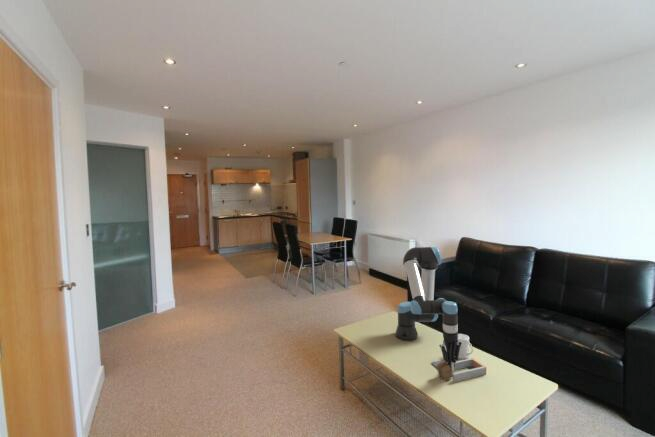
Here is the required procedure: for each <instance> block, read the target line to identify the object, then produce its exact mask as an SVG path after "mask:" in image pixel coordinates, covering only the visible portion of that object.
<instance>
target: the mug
mask: <svg viewBox="0 0 655 437" xmlns="http://www.w3.org/2000/svg"><path fill="white" fill-rule="evenodd" d="M458 341H459V342H461V343H462V344H461V346H460V350H459V356H458V359H460V360H465V359H470V357H471V356H470V355H472V353H473V351H474V349H473V348H474V347H473V346H472V343H470V336H469V335H467V334H464V333H458ZM470 348H471V351H470Z"/></svg>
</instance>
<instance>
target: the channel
mask: <svg viewBox="0 0 655 437" xmlns="http://www.w3.org/2000/svg"><path fill="white" fill-rule="evenodd" d="M465 368H467V370H461V369H465ZM456 370H457V371H458V370H461V371H458V372H457V371H456ZM454 371H456V372H454V373H453V377H452V382H453V383H457V382H459V381H464V380H469V379H471V378H476V377H480V376H484V375H487V366H485V365H484V364H482V363H481V362H479V361H478V360H476V359H474V358H473V357H471V358H470V357H469V358H468V359H460V360H456V363H455V367H454Z"/></svg>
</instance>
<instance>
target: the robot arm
mask: <svg viewBox="0 0 655 437" xmlns="http://www.w3.org/2000/svg"><path fill="white" fill-rule="evenodd" d="M402 264H403V268H404V269H405V271H406V275H407V280H408V284H409V290H410V293H411V297H412V300H411V301H403V302H401V303H399V304H397V326H396V329H395V337H396V338H397V339H399V340H402V341H415V340H417V339H418V336H419V334H418V331H417V328H416V322H417V323H419V322H421V323H423V322H424V323H430V322H432V323H433V322H436V321H437V319H438V318H439V315H441V316H442V338H443V342H442V344H439V348H440V349H441V353H442V358H443V361H445V362H446V363H447V364H448V365H449V366H450V369H451V372H452V375H453V373H455V370H454V367H455V363H456V362H457V361H459V360H458V359H459V358H458V356H459V350H460V346H461V344H462V343H461V342H459V341H458V334H459V333H458V330H459V328H458V326H459V324H458V318H459V317H458V310H459V309H458V304H457V302H455V301H451V300H447V299H445V298H444V297H439V298H437V299H436V300H435V299H434V297H435V295H434V294H435V278H436V270H437V269H438V268H439V266H440V265H441V264H442V255H441V252H440V250H439V248H437V247H435V246H434V247H432V246H425V247H424V246H421V247H417V246H416V247H412V248H410V249H409V250H407V251H406V253H405V254H404V256H403V259H402ZM419 267H420V269H421V274H420V270H419Z"/></svg>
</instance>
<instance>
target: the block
mask: <svg viewBox="0 0 655 437" xmlns="http://www.w3.org/2000/svg"><path fill="white" fill-rule="evenodd" d="M436 367H437V368H436ZM436 367H435V368H436V369H437V372H438V374H439V377H440V378H441V379H443V380H444V382H445V381H448V380H450V379H451V378H453V375H452V372H451V369H450V366H449V365H448V364H447V362H446V361H444V360H443V361H442V362H440V363H439V364H437V365H436Z"/></svg>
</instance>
